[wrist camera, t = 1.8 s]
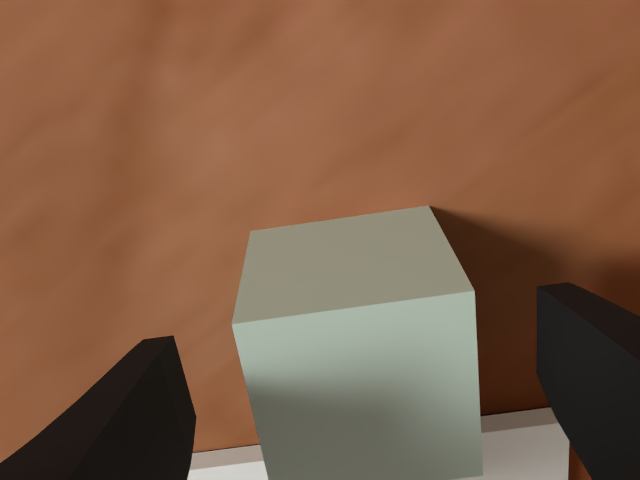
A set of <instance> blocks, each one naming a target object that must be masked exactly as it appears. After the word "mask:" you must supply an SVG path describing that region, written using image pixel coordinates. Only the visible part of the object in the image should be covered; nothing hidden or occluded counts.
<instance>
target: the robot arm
mask: <svg viewBox="0 0 640 480" xmlns="http://www.w3.org/2000/svg"><path fill="white" fill-rule="evenodd" d="M537 375H538V378H539V380H540V383H541V385H542V388H543V390H544V392H545V395H546V397H547V400H548V402H549V404H550V406H551V409H552V411H553V413H554V415H555V417H556V419H557V421H558V423H559V424H560V426H561V428H562V430H563V431H564V433H565V435H566V436H567V438H568V440H569V441H570V443H571V445H572V446H573V448H574V450H575V451H576V453H577V455H578V456H579V458H580V460H581V461H582V463H583V465H584V466H585V468H586V470H587V471H588V473H589V475H590V476H591V478H592V479H593V480H640V317H639V316H637V315H635V314H633V313H631V312H629V311H627V310H625V309H623V308H621V307H619V306H617V305H615V304H613V303H611V302H609V301H607V300H605V299H603V298H601V297H599V296H597V295H595V294H593V293H591V292H589V291H587V290H585V289H583V288H581V287H579V286H576V285H574V284H571V283H569V282H568V283H561V284H553V285H546V286H538V287H537ZM195 425H196V414H195V411H194V407H193V404H192V400H191V397H190V393H189V389H188V386H187V382H186V379H185V375H184V371H183V368H182V364H181V361H180V357H179V354H178V350H177V346H176V343H175V339H174V336H166V337H159V338H151V339H144V340H142V341H141V342H140V343H139V344H137V345H136V346H135V347H134V348H133V349H132V350H131V351H129V352H128V353H127V354H126V355H125V356H124V357H123V358H122V359H121V360H120V361H119V362H118V363H117V364H116V365H115V366H114V367H112V368H111V369H110V370H109V371H108V372H107V373H106V374H105V375H104V376H103V377H102V378H101V379H100V380H99V381H98V382H97V383H96V384H94V385H93V386H92V387H91V388H90V389H89V390H88V391H87V392H86V393H85V394H84V395H83V396H82V397H81V398H80V399H78V400H77V401H76V402H75V403H74V404H73V405H72V406H70V407H69V408H68V409H67V410H66V411H65V412H63V413H62V414H61V415H60V416H59V417H58V418H56V419H55V420H54V421H53V422H52V423H51V424H49V425H48V426H47V427H46V428H45V429H44V430H43V431H41V432H40V433H39V434H38V435H37V436H35V437H34V438H33V439H32V440H30V441H29V442H28V443H27V444H25V445H24V446H23V447H21V448H20V449H19V450H18V451H16V452H15V453H14V454H12V455H11V456H9V457H8V458H7V459H5V460H4V461H3V462H1V463H0V480H187V478H188V474H189V470H190V466H191V460H192V452H193V444H194V435H195Z"/></svg>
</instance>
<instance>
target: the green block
mask: <svg viewBox="0 0 640 480" xmlns="http://www.w3.org/2000/svg"><path fill="white" fill-rule="evenodd" d="M232 328H233V332H234V336H235V340H236V345H237V349H238V353H239V357H240V362H241V366H242V370H243V374H244V379H245V383H246V387H247V391H248V395H249V400H250V404H251V408H252V412H253V417H254V421H255V425H256V429H257V434H258V438H259V442H260V446H261V450H262V455H263V459H264V463H265V467H266V472H267V476H268V480H452V479H460V478H468V477H476V476H483V462H482V440H481V418H480V396H479V375H478V353H477V331H476V309H475V290H474V289H473V287H472V285H471V283H470V281H469V279H468V277H467V276H466V274H465V272H464V270H463V268H462V266H461V264H460V263H459V261H458V259H457V257H456V255H455V253H454V251H453V250H452V248H451V246H450V244H449V242H448V240H447V238H446V237H445V235H444V233H443V231H442V229H441V227H440V225H439V224H438V222H437V220H436V218H435V216H434V214H433V212H432V211H431V209H430V207H429V206H423V207H416V208H409V209H402V210H395V211H388V212H381V213H374V214H367V215H360V216H353V217H346V218H339V219H332V220H325V221H318V222H311V223H304V224H297V225H290V226H283V227H276V228H269V229H262V230H255V231H251V232H250V237H249V242H248V247H247V251H246V256H245V261H244V266H243V271H242V276H241V281H240V286H239V291H238V296H237V300H236V305H235V310H234V315H233V320H232Z"/></svg>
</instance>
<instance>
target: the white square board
mask: <svg viewBox="0 0 640 480" xmlns="http://www.w3.org/2000/svg"><path fill="white" fill-rule="evenodd" d="M480 418H481V440H482V462H483V476H476V477H468V478H460V479H452V480H568V467H569V440H568V438H567V436H566V435H565V433H564V431H563V430H562V428H561V426H560V424H559V423H558V421H557V419H556V417H555V415H554V413H553V411H552V409H551V407H550V408H542V409H534V410H527V411H519V412H511V413H503V414H495V415H488V416H480ZM187 480H268V476H267V472H266V467H265V463H264V459H263V455H262V450H261V446H260V445H254V446H246V447H238V448H230V449H222V450H215V451H207V452H199V453H192V460H191V466H190V470H189V474H188V478H187Z"/></svg>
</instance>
